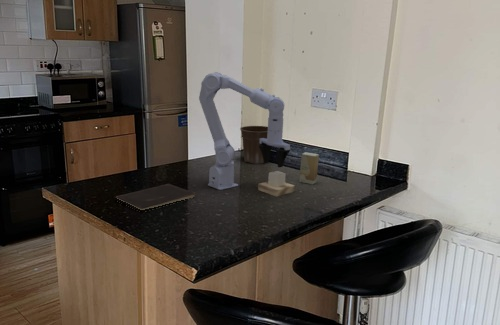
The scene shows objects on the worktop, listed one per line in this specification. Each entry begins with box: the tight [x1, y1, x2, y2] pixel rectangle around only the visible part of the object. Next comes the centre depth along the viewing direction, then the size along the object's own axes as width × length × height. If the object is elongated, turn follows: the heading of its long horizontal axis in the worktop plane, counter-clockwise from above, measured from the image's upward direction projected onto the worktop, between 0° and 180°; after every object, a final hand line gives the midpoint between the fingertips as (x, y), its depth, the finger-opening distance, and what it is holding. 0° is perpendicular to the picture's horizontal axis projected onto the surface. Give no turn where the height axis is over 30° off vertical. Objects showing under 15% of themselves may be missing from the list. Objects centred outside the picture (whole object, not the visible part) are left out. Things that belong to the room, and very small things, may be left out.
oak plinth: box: [257, 181, 296, 197], centre depth 173 cm, size 10×10×3 cm
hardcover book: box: [114, 183, 196, 210], centre depth 159 cm, size 16×23×2 cm
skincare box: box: [298, 152, 320, 185], centre depth 184 cm, size 6×4×12 cm
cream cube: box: [267, 170, 287, 187], centre depth 172 cm, size 5×5×5 cm
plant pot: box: [239, 125, 268, 165], centre depth 216 cm, size 16×16×16 cm
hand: (273, 164), depth 173 cm, fingers open, 7 cm apart
